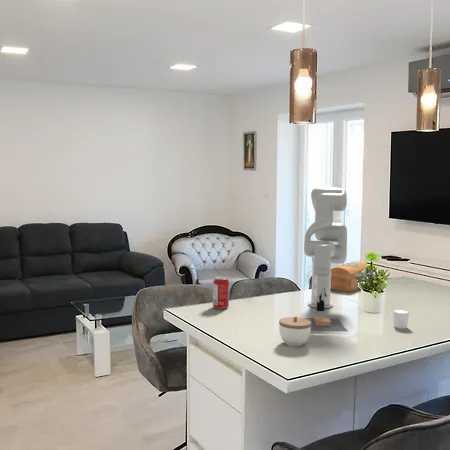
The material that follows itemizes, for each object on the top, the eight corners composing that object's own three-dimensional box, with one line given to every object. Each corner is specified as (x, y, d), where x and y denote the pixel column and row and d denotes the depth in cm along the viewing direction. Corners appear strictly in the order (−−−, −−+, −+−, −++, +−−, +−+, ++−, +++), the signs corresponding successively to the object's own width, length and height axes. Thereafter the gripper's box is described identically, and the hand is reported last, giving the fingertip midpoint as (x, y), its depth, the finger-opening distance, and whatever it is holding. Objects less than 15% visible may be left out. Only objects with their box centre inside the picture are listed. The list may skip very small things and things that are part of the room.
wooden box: (345, 281, 352) (346, 259, 350) (370, 284, 342) (371, 262, 341) (324, 288, 327) (325, 265, 326) (350, 292, 318) (352, 268, 317)
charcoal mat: (298, 319, 256) (299, 318, 256) (337, 320, 257) (338, 318, 257) (305, 331, 237) (305, 330, 237) (347, 332, 237) (347, 331, 237)
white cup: (410, 326, 249) (410, 310, 249) (406, 329, 243) (407, 314, 243) (394, 323, 253) (395, 308, 252) (390, 327, 247) (391, 311, 246)
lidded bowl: (316, 344, 220) (317, 316, 219) (298, 351, 211) (299, 322, 210) (290, 337, 228) (291, 310, 227) (272, 343, 219) (272, 316, 218)
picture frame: (314, 316, 251) (317, 321, 243) (327, 316, 251) (330, 321, 243) (313, 321, 251) (316, 326, 244) (327, 321, 252) (330, 326, 244)
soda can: (210, 308, 273) (211, 278, 271) (215, 305, 280) (216, 275, 279) (225, 310, 270) (226, 279, 269) (230, 306, 277) (231, 277, 276)
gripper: (310, 267, 258) (309, 306, 260) (316, 274, 243) (314, 315, 245) (327, 268, 258) (325, 306, 260) (333, 274, 243) (331, 315, 245)
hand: (320, 310), depth 253 cm, fingers closed
